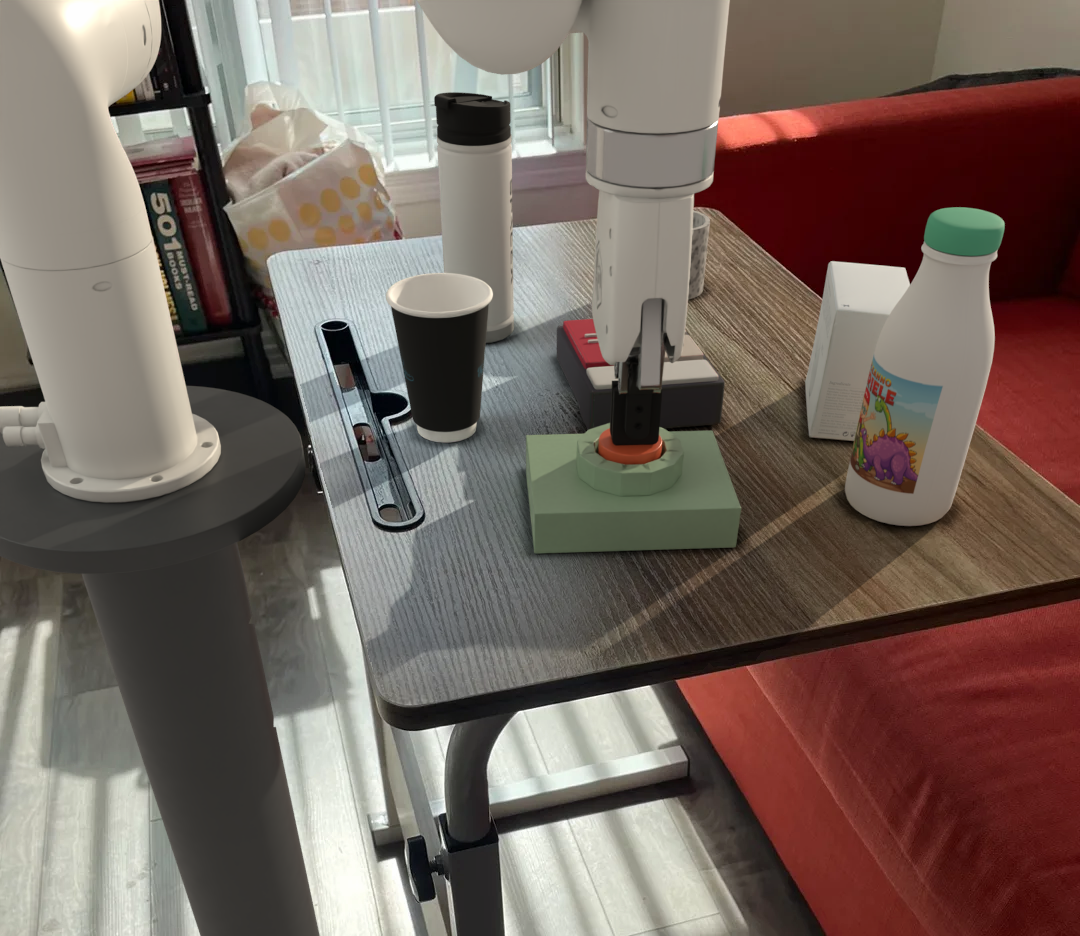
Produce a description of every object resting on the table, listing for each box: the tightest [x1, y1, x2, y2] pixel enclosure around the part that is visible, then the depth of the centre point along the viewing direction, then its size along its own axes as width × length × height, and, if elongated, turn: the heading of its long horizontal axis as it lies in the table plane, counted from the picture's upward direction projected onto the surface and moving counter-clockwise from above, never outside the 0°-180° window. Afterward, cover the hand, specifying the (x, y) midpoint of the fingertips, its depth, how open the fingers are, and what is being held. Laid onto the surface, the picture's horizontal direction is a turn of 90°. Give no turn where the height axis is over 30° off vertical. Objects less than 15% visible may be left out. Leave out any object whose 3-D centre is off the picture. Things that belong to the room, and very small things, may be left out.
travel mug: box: [433, 91, 515, 344], centre depth 97 cm, size 6×7×20 cm
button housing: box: [525, 423, 742, 555], centre depth 79 cm, size 14×11×5 cm
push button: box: [598, 428, 662, 465], centre depth 77 cm, size 4×4×2 cm
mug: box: [688, 209, 711, 300], centre depth 108 cm, size 10×7×7 cm
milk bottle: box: [844, 206, 1006, 527], centre depth 75 cm, size 8×8×20 cm
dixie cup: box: [385, 272, 493, 443], centre depth 86 cm, size 8×8×11 cm
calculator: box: [556, 318, 726, 431], centre depth 93 cm, size 11×4×15 cm
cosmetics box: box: [804, 260, 911, 442], centre depth 88 cm, size 10×6×10 cm, turn 172°
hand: (633, 438), depth 77 cm, fingers closed
